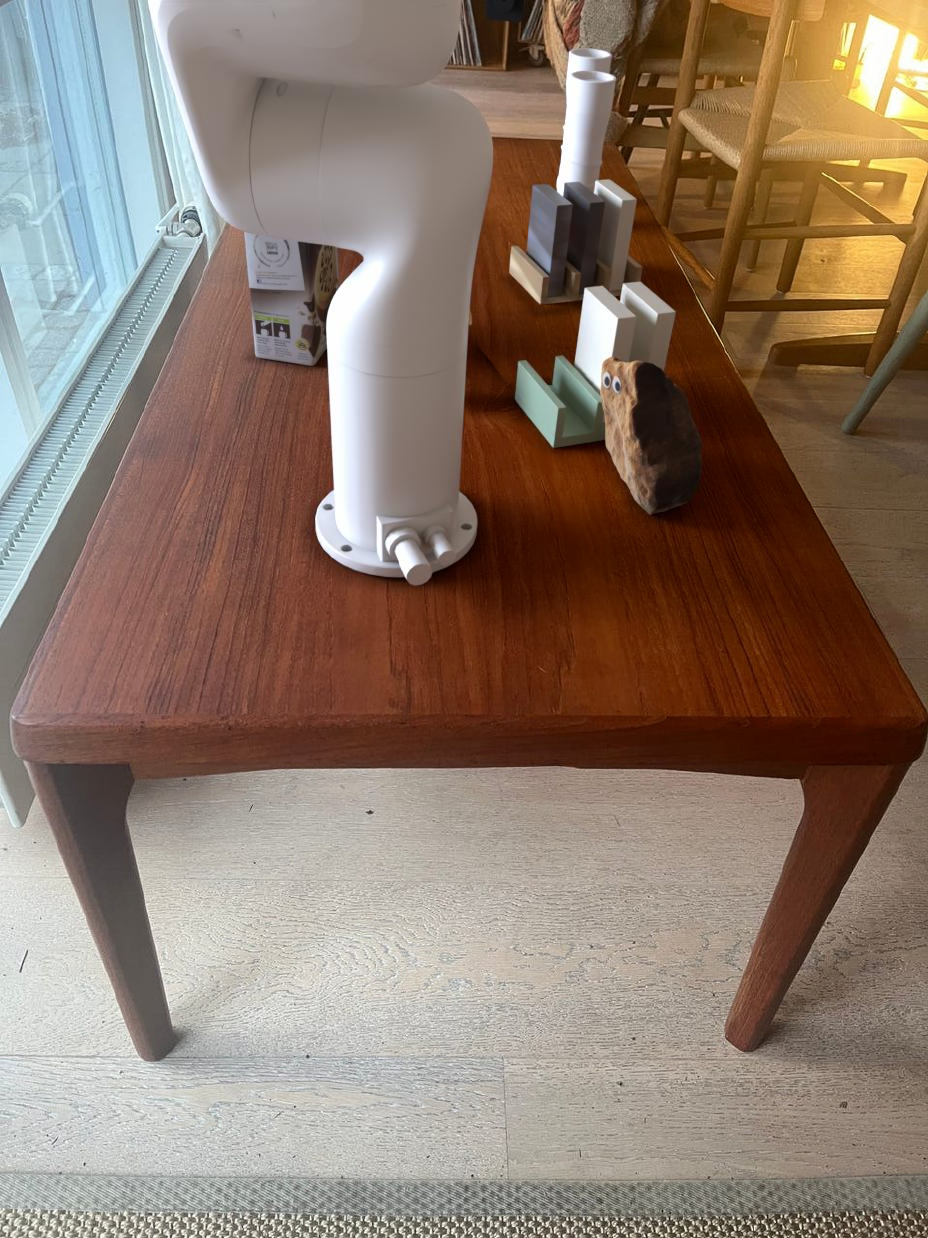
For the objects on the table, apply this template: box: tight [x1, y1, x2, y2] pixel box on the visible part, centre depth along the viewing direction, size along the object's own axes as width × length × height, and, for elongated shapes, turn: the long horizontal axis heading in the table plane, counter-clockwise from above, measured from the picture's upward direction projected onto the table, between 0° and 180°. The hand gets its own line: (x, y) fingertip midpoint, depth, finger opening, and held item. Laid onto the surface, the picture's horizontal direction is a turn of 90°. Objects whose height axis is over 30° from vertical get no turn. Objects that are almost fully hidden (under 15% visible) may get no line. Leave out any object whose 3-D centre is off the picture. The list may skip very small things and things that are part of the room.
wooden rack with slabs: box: [508, 182, 643, 305], centre depth 109 cm, size 12×9×11 cm
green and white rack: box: [514, 281, 677, 449], centre depth 88 cm, size 12×9×11 cm
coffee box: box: [243, 231, 340, 367], centre depth 94 cm, size 9×6×16 cm
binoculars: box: [556, 47, 617, 196], centre depth 125 cm, size 17×5×18 cm, turn 176°
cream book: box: [594, 179, 638, 291], centre depth 109 cm, size 2×6×10 cm, turn 20°
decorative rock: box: [600, 357, 703, 515], centre depth 80 cm, size 12×6×11 cm, turn 17°
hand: (510, 7), depth 85 cm, fingers open, 9 cm apart
